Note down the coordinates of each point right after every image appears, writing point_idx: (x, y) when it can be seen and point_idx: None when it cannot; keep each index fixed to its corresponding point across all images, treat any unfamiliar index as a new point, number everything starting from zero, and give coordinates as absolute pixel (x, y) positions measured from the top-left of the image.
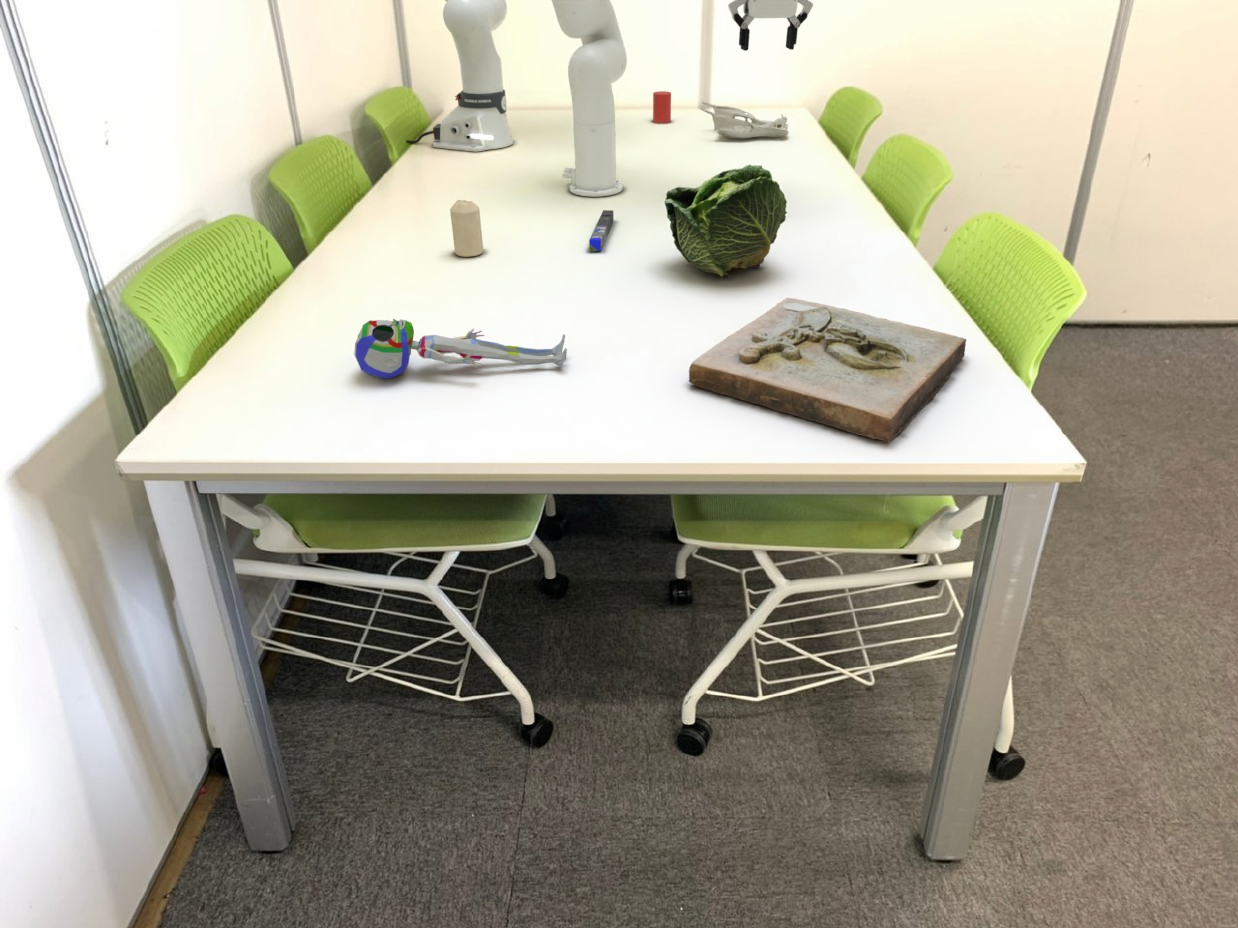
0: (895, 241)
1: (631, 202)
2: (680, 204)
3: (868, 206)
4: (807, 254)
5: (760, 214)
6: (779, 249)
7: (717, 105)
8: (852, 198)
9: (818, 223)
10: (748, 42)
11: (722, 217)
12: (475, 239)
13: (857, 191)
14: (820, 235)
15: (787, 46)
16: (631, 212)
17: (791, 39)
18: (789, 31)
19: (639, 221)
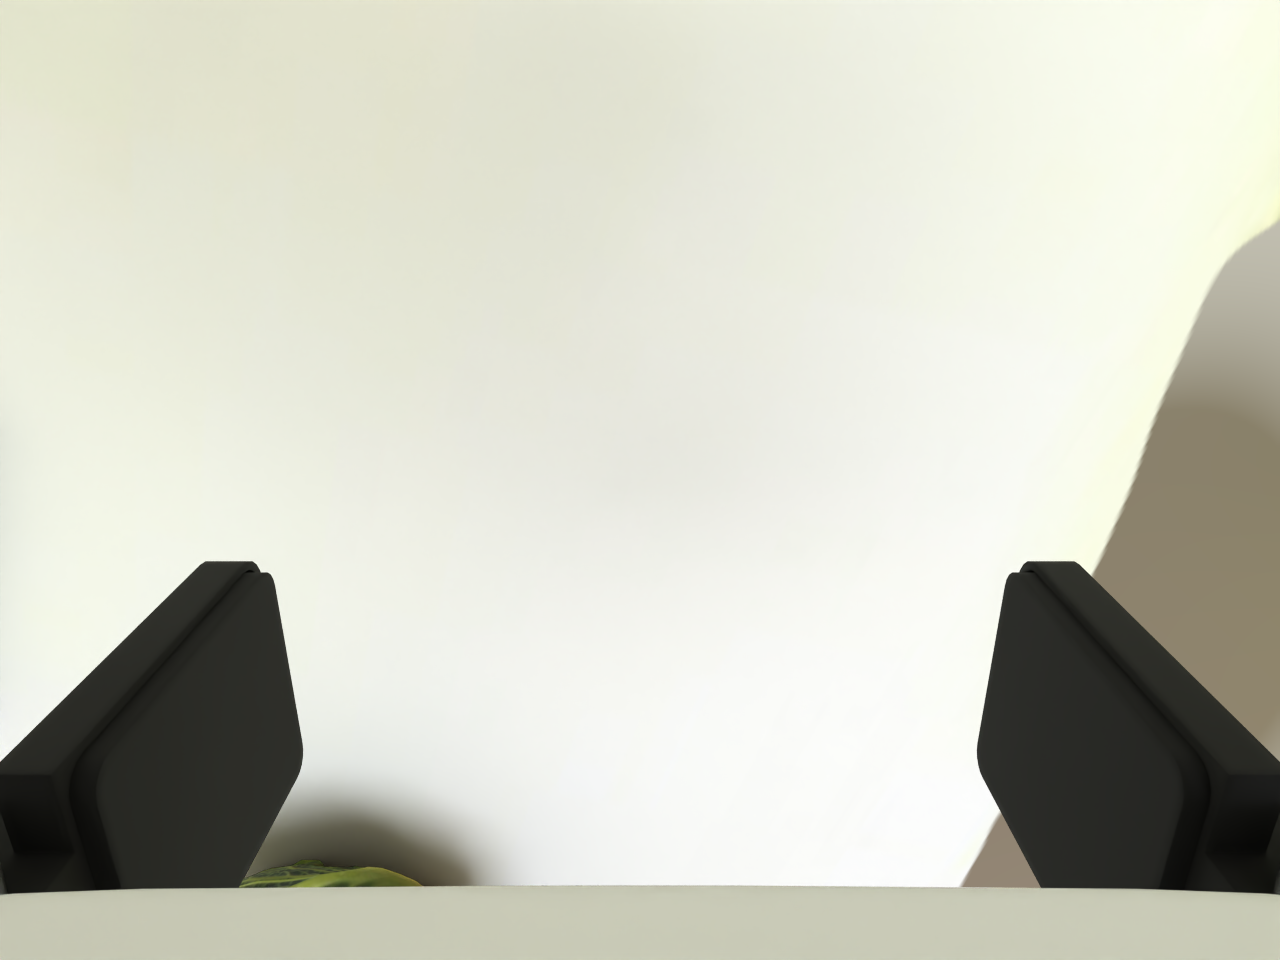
0: (973, 813)
1: (36, 116)
2: None
3: (1126, 435)
4: (641, 857)
5: None
6: (568, 805)
7: None
8: (1132, 300)
9: (808, 598)
10: (255, 841)
11: None
12: None
13: (1231, 183)
14: (756, 716)
15: (1004, 656)
16: (46, 289)
17: (1039, 866)
18: (1117, 855)
19: (89, 425)
